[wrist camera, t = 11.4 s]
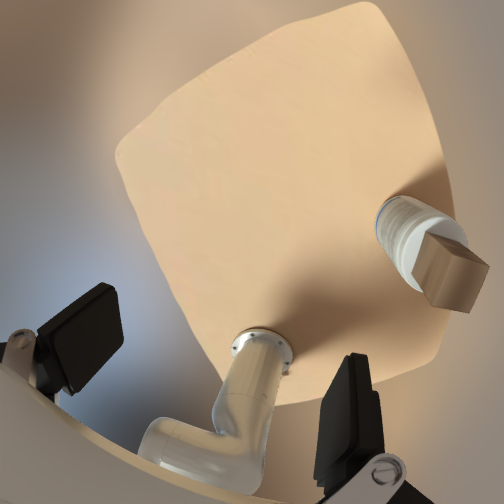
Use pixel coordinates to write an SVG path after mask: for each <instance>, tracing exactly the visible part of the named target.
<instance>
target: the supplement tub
mask: <svg viewBox="0 0 504 504" xmlns="http://www.w3.org/2000/svg"><path fill="white" fill-rule="evenodd" d="M425 231H426V232H429V233H433V234H436V235H439V236H442V237H445V238H449V239H452V240H455V241H458V242H460V243H461V244H463V245H464V246H465V247H466V248H468V243H467V238H466V235H465V233H464V231H463V229H462V228H461V226H460V225H459V224H458V223H457V222H456V221H455V220H454V219H453V218H451V217H450V216H448V215H446V214H445V213H443V212H441V211H439V210H437V209H435V208H433V207H431V206H429V205H427V204H425V203H423V202H421V201H419V200H417V199H415V198H413V197H410V196H405V195H401V196H396V197H393V198H391V199H389V200H388V201H386V202H385V203H384V204H383V205H382V206H381V207H380V209H379V211H378V213H377V215H376V218H375V234H376V237H377V239H378V241H379V243H380V245H381V246H382V247H383V249H384V250H385V252H386V253H387V255H388V256H389V258H390V259H391V261H392V262H393V264H394V265H395V267H396V269H397V270H398V272H399V273H400V274H401V276H402V277H403V278H404V280H405V281H406V282H407V283H408V284H409V285H410V286H411V287H412V288H414V289H415V290H417V291H419V292H423V291H422V290H421V288H420V286H419V285H418V283H417V282H416V280H415V279H414V277H413V276H412V274H411V272H412V270H413V267H414V264H415V261H416V258H417V255H418V252H419V249H420V246H421V243H422V240H423V237H424V234H425Z"/></svg>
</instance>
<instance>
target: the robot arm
mask: <svg viewBox="0 0 504 504" xmlns="http://www.w3.org/2000/svg"><path fill="white" fill-rule="evenodd" d="M37 332H38V336H37V337H36V336H35V333H34V332H33V331H32V330H29V329H20V330H17V331H15V332H14V333H13V334H11V336H10V337H9V339H8V341H7V342H3V343H0V504H290V503H284V502H278V501H273V500H268V499H263V498H257V497H253V496H249V495H251V494H253V493H254V492H255V491H256V490H257V489H258V487H259V486H260V484H261V481H262V478H263V471H264V458H265V447H266V440H267V434H268V430H269V426H270V422H271V417H272V413H273V409H274V405H275V401H276V396H277V392H278V388H279V383H280V378H281V374H282V373H283V372H285V371H286V370H287V369H288V368H289V366H290V365H291V362H292V358H293V352H292V348H291V346H290V345H289V343H288V342H287V341H286V340H285V339H284V338H283V337H282V336H280V335H279V334H277V333H275V332H272V331H269V330H265V329H250V330H246V331H244V332H242V333H240V334H239V335H238V336H237V337H236V338H235V339H234V341H233V343H232V346H231V354H232V357H233V359H234V360H233V363H232V365H231V367H230V370H229V372H228V374H227V377H226V379H225V381H224V383H223V386H222V388H221V391H220V393H219V395H218V397H217V399H216V402H215V404H214V406H213V411H212V419H213V423H214V426H215V428H216V430H217V433H218V434H217V433H213V432H209V431H206V430H202V429H200V428H197V427H194V426H191V425H188V424H186V423H183V422H180V421H177V420H174V419H171V418H167V417H165V418H164V417H162V418H158V419H156V420H154V421H153V422H152V423H151V424H150V426H149V427H148V429H147V431H146V433H145V434H144V437H143V439H142V442H141V445H140V448H139V451H138V454H137V455H135V454H133V453H131V452H129V451H127V450H125V449H124V448H122V447H120V446H118V445H116V444H114V443H113V442H111V441H109V440H108V439H106V438H104V437H102V436H101V435H99V434H97V433H96V432H94V431H93V430H91V429H90V428H88V427H87V426H85V425H84V424H82V423H81V422H79V421H77V420H76V419H75V418H73V417H72V416H70V415H69V414H68V413H66V412H65V411H64V410H62V409H61V408H60V407H59V391H60V390H61V389H63V391H64V392H66V393H67V394H68V395H70V396H73V395H74V394H75V393H78V392H80V391H81V389H82V388H83V387H84V386H85V385H86V384H87V383H88V382H89V380H91V378H92V377H93V376H94V375H95V374H96V373H97V372H98V371H99V370H100V369H101V367H102V366H103V365H104V364H105V363H106V362H107V361H108V360H109V359H110V358H111V357H112V355H113V354H114V353H115V352H116V351H117V350H118V349H119V348H120V347H121V346H122V344H123V341H124V336H123V330H122V324H121V318H120V311H119V304H118V295H117V292H116V291H115V288H114V287H113V286H111V285H109V284H106V283H103V282H101V283H99V284H98V285H97V286H95V287H94V288H92V289H91V290H89V291H88V292H87V293H85V294H84V295H82V296H81V297H80V298H78V299H77V300H76V301H74V302H73V303H71V304H70V305H69V306H68V307H66V308H65V309H63V310H62V311H61V312H60V313H58V314H57V315H56V316H54V317H53V318H52V319H50V320H49V321H48V322H46V323H45V324H44V325H42V326H41V327H40V328H39V329H37ZM313 477H314V480H317V487H324V495H325V496H324V497H323V498H322V499H321V500H319V501H318V502H317V503H316V504H434V503H433V502H432V501H431V500H429V499H428V498H427V497H425V496H424V495H423V494H422V493H420V492H419V491H418V490H417V489H416V488H414V487H413V486H412V485H411V484H409V483H408V482H407V481H406V480H405V478H406V466H405V464H404V462H403V461H402V460H401V459H400V458H399V457H397V456H396V455H394V454H389V453H385V449H384V435H383V424H382V415H381V406H380V399H379V394H378V392H377V391H373V390H372V384H371V376H370V369H369V363H368V357H367V355H364V354H358V353H351V354H350V356H347V355H346V356H345V358H344V360H343V362H342V364H341V366H340V368H339V370H338V372H337V373H336V375H335V377H334V379H333V381H332V383H331V385H330V387H329V389H328V390H327V392H326V394H325V396H324V398H323V400H322V403H321V409H320V421H319V432H318V442H317V451H316V459H315V468H314V476H313Z"/></svg>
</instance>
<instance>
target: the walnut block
mask: <svg viewBox="0 0 504 504" xmlns="http://www.w3.org/2000/svg"><path fill="white" fill-rule="evenodd" d="M489 267H490V266H489V265H487V264H486V263H485V262H484V261H483V260H481V259H480V258H479V257H478V256H476V255H475V254H474V253H473V252H471V251H470V250H469V249H468V248H466V247H465V246H464V245H463V244H461V243H460V242H458V241H455V240H452V239H449V238H445V237H442V236H439V235H436V234H433V233H429V232H426V231H425V234H424V237H423V240H422V243H421V246H420V249H419V252H418V255H417V258H416V261H415V264H414V267H413V270H412V272H411V274H412V276H413V277H414V279H415V280H416V282H417V283H418V285H419V286H420V288H421V290H422V291H423V293H424V294H425V296H426V297H427V299H428V301H429V302H430V304H431V306H433V307H438V308H443V309H449V310H454V311H459V312H465V313H470V311H471V309H472V307H473V305H474V302H475V300H476V298H477V296H478V294H479V292H480V289H481V287H482V285H483V282H484V280H485V277H486V275H487V273H488V270H489Z"/></svg>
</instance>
